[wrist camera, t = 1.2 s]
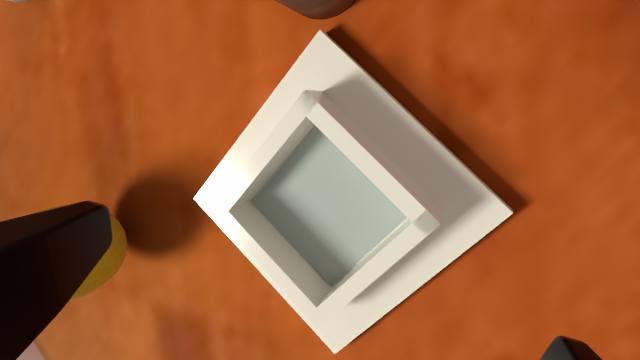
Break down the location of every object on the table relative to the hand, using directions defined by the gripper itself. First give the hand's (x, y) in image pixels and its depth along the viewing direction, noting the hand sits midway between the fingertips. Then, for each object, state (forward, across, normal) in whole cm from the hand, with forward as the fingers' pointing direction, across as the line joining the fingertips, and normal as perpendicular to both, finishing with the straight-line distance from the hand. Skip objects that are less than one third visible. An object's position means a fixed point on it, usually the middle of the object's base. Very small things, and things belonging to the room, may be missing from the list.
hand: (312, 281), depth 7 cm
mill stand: (+12, +1, +5) cm, 13 cm away
